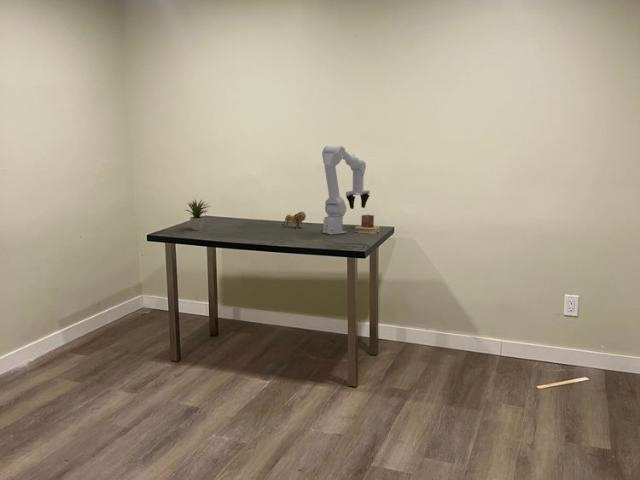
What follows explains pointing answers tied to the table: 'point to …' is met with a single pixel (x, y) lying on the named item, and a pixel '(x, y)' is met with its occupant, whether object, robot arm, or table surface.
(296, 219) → the lion figurine
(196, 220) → the house plant
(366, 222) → the walnut block
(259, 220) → the table surface
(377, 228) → the oak plinth
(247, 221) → the table surface
